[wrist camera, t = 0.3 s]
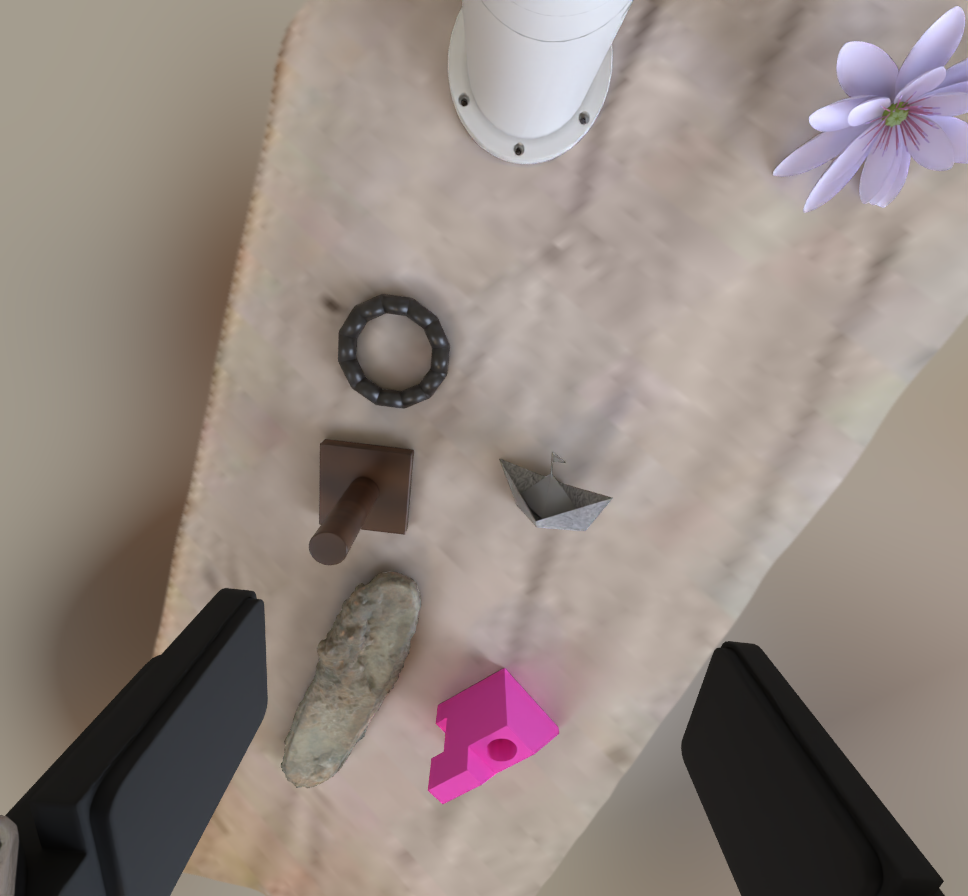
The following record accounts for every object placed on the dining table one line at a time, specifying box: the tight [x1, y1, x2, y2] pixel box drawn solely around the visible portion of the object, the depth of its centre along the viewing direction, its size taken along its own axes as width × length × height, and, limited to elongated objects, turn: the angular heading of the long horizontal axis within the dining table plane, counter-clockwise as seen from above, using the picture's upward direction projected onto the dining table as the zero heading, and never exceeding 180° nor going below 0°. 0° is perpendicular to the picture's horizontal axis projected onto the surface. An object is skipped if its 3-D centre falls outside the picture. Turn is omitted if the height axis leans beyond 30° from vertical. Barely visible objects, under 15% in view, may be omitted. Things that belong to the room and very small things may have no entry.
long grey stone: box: [281, 572, 421, 788], centre depth 53 cm, size 35×5×10 cm
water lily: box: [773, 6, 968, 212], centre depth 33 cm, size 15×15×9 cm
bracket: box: [428, 668, 559, 804], centre depth 52 cm, size 12×10×10 cm
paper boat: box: [499, 452, 612, 531], centre depth 44 cm, size 12×6×9 cm
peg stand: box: [309, 439, 414, 565], centre depth 41 cm, size 9×9×12 cm
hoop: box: [338, 294, 450, 408], centre depth 42 cm, size 10×10×2 cm
